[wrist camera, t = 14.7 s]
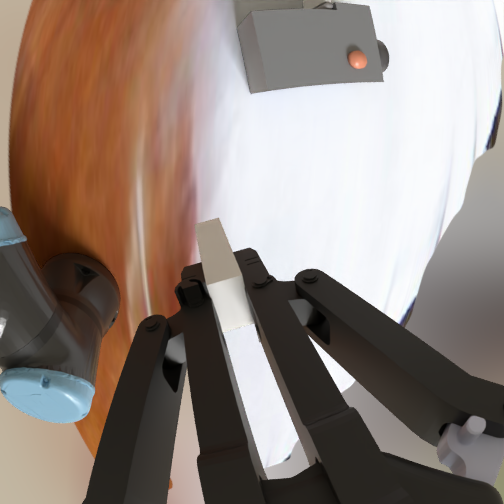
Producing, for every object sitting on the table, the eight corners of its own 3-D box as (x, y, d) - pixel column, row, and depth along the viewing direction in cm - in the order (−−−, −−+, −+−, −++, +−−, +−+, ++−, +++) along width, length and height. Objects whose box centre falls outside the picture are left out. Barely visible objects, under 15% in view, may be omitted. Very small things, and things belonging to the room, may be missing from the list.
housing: (250, 93, 36) (270, 90, 29) (235, 20, 31) (251, 1, 23) (366, 82, 39) (402, 82, 31) (354, 18, 33) (388, 7, 26)
